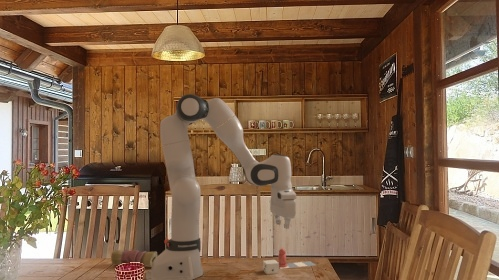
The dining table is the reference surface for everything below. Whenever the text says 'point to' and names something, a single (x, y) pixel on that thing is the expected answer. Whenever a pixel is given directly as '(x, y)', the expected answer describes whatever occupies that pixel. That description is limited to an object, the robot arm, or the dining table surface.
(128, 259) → the rolled towel
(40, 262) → the dining table surface
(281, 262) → the pawn
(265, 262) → the die
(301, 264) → the board
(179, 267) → the robot arm
